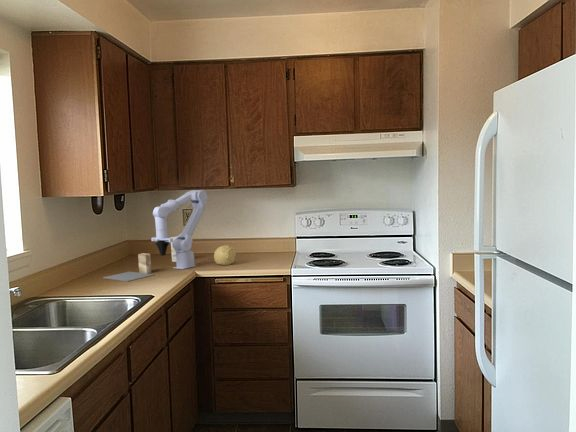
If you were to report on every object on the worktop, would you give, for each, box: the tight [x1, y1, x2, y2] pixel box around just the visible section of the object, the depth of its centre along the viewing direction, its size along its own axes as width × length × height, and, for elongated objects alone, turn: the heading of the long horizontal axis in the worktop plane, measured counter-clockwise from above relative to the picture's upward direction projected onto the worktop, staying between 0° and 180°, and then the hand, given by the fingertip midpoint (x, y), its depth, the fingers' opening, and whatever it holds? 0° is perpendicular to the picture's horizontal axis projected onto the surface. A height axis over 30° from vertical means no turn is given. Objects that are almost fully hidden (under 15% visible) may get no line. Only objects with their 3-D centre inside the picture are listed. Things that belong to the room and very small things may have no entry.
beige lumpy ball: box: [213, 244, 237, 266], centre depth 275 cm, size 11×12×11 cm
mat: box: [102, 271, 155, 282], centre depth 251 cm, size 16×20×1 cm
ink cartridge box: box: [170, 236, 178, 263], centre depth 294 cm, size 9×5×15 cm, turn 101°
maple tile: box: [137, 252, 152, 274], centre depth 259 cm, size 3×6×10 cm, turn 54°
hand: (163, 255), depth 261 cm, fingers closed
